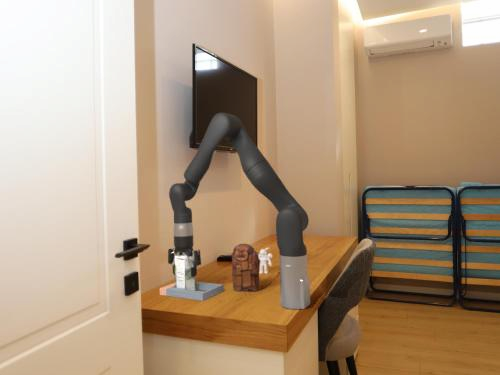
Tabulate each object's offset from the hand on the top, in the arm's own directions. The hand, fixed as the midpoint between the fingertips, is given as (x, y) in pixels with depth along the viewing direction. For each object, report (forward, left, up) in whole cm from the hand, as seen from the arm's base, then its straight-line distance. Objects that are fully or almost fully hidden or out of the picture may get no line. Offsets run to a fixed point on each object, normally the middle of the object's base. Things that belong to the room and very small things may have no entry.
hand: (184, 275), depth 154 cm
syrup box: (0, 0, -6) cm, 7 cm away
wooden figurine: (-20, -12, -6) cm, 24 cm away
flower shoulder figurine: (-14, -40, -6) cm, 43 cm away
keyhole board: (-3, 0, -6) cm, 7 cm away
